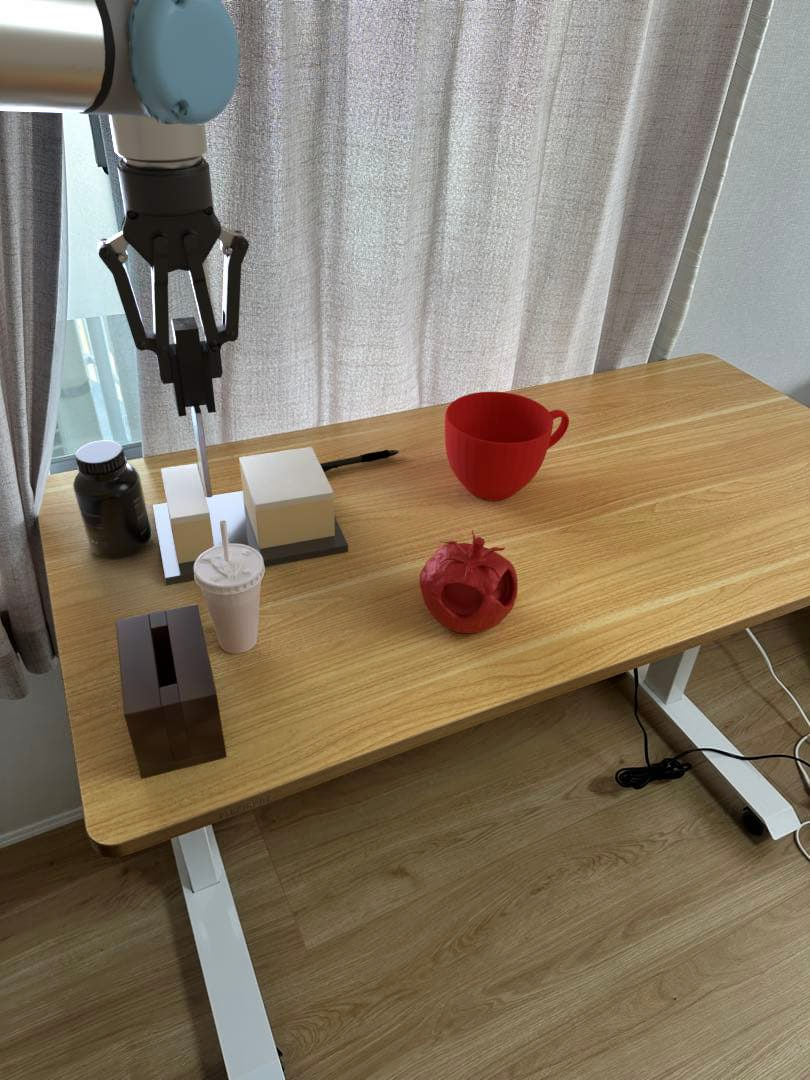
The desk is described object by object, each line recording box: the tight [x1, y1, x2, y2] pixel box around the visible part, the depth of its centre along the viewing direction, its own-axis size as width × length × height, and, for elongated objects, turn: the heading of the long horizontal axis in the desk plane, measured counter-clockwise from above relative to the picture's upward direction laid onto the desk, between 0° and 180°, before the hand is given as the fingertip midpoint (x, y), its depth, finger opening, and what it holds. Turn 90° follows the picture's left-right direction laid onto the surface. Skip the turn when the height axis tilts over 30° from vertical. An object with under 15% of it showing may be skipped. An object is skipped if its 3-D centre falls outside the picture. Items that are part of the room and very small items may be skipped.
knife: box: [170, 316, 213, 498], centre depth 82 cm, size 2×6×18 cm, turn 19°
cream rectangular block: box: [160, 462, 214, 564], centre depth 89 cm, size 4×10×6 cm, turn 19°
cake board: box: [152, 490, 349, 586], centre depth 93 cm, size 20×14×1 cm
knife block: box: [115, 603, 228, 779], centre depth 69 cm, size 7×11×8 cm, turn 19°
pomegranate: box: [418, 529, 519, 634], centre depth 81 cm, size 10×10×9 cm
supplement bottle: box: [72, 439, 153, 560], centre depth 87 cm, size 7×7×12 cm
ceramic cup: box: [444, 391, 570, 501], centre depth 100 cm, size 13×17×10 cm
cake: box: [238, 446, 335, 549], centre depth 92 cm, size 9×10×6 cm
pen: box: [319, 449, 399, 473], centre depth 104 cm, size 14×2×1 cm, turn 113°
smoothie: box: [194, 520, 266, 654], centre depth 75 cm, size 6×6×14 cm
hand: (195, 407), depth 82 cm, fingers closed on knife, 2 cm apart
